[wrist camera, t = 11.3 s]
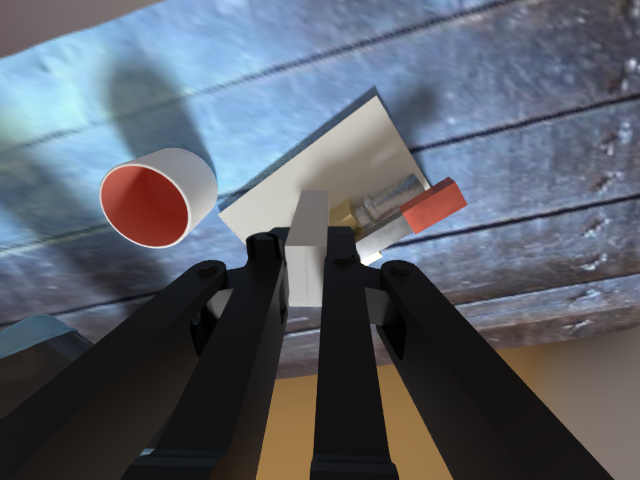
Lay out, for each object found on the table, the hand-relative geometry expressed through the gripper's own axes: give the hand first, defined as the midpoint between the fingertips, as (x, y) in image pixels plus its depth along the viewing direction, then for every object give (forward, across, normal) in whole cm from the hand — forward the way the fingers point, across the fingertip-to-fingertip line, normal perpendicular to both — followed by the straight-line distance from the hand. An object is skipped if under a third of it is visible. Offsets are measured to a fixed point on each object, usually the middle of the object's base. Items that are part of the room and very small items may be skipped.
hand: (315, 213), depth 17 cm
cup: (+25, -20, -5) cm, 32 cm away
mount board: (+24, 0, -9) cm, 26 cm away
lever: (+17, +7, -8) cm, 20 cm away
